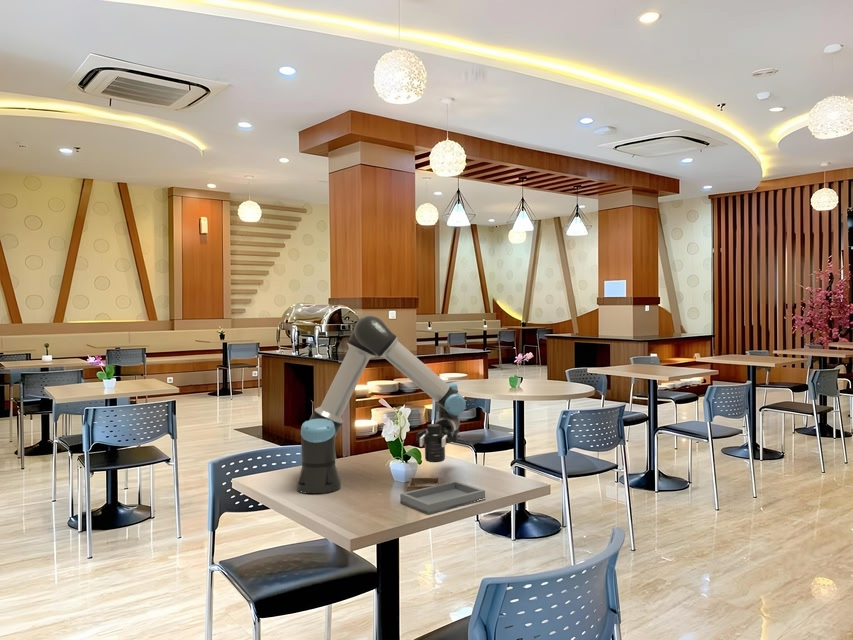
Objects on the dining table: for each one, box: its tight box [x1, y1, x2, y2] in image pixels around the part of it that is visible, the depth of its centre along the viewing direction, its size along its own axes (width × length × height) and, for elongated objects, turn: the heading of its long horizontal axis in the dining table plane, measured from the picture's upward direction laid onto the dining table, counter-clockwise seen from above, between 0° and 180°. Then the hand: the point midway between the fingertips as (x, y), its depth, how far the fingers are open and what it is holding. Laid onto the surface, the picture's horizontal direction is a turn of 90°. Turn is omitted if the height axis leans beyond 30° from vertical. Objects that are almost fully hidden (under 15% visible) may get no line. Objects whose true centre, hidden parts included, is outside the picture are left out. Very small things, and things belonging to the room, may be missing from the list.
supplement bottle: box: [424, 423, 446, 463], centre depth 210 cm, size 7×7×12 cm
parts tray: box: [399, 480, 486, 515], centre depth 200 cm, size 15×23×3 cm, turn 127°
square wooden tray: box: [406, 477, 442, 492], centre depth 216 cm, size 11×11×2 cm
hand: (431, 442), depth 205 cm, fingers closed on supplement bottle, 7 cm apart
